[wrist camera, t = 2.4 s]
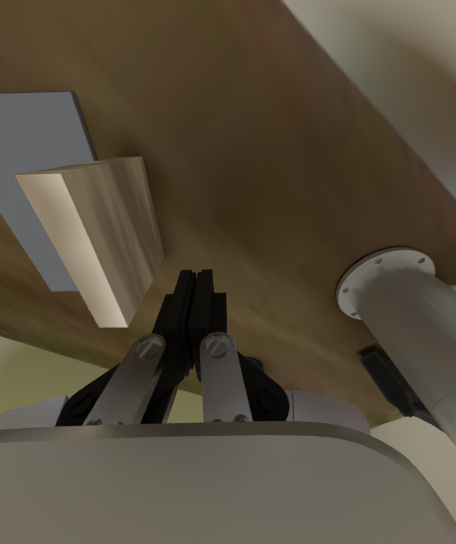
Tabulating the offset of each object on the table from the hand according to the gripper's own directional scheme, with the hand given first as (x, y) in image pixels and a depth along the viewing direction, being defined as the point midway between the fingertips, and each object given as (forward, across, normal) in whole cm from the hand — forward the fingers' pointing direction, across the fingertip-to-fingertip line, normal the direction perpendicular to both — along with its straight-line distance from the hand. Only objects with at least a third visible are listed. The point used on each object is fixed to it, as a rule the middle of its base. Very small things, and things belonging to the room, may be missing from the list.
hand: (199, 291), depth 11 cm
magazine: (+14, -39, +36) cm, 55 cm away
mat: (+15, +18, 0) cm, 24 cm away
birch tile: (+15, +8, 0) cm, 17 cm away
